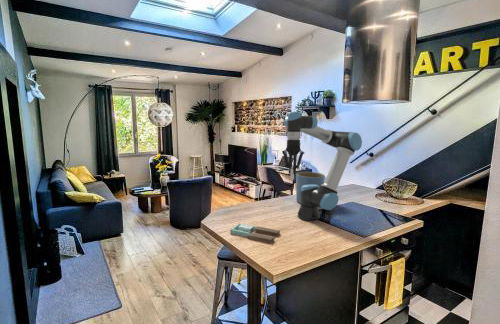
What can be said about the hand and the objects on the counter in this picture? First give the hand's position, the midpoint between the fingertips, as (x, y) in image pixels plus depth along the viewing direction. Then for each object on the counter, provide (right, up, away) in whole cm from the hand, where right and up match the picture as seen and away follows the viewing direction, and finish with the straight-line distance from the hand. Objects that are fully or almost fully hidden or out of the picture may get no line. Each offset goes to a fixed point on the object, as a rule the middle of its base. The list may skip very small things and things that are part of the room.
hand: (292, 179), depth 158 cm
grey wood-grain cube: (-25, -32, 0) cm, 41 cm away
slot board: (-17, -33, -4) cm, 37 cm away
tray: (-29, -32, +2) cm, 43 cm away
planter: (+24, -23, +66) cm, 74 cm away
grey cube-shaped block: (-29, -32, +2) cm, 43 cm away
